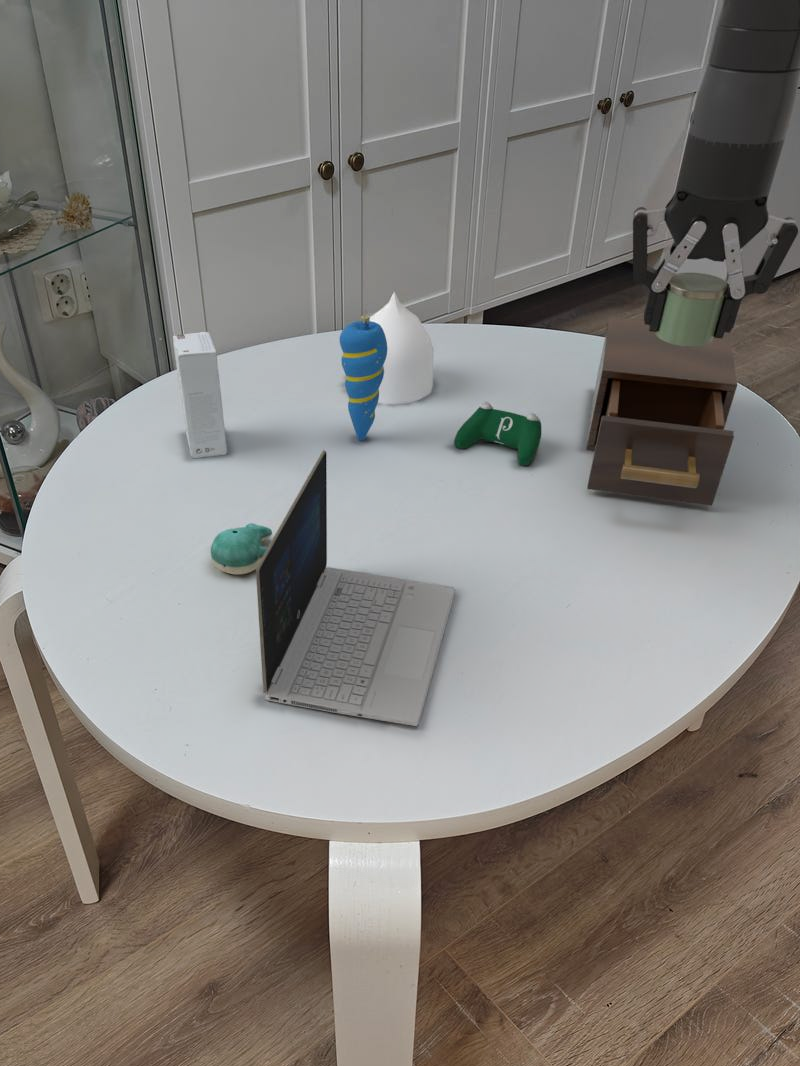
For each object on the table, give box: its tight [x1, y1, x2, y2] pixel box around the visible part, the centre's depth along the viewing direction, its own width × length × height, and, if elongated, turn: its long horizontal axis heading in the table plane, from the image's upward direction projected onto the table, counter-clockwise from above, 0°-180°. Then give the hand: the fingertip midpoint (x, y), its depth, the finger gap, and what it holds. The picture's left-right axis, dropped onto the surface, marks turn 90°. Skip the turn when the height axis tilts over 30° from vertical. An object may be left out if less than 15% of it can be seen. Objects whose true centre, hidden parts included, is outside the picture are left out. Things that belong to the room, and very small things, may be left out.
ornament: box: [339, 309, 387, 442], centre depth 100 cm, size 5×5×15 cm
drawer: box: [586, 378, 735, 507], centre depth 94 cm, size 19×12×8 cm, turn 164°
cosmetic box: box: [172, 331, 228, 459], centre depth 100 cm, size 6×4×12 cm
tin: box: [656, 272, 729, 347], centre depth 84 cm, size 5×5×5 cm
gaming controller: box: [453, 401, 542, 467], centre depth 102 cm, size 9×4×6 cm
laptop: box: [255, 449, 456, 727], centre depth 73 cm, size 18×12×13 cm
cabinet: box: [585, 317, 738, 452], centre depth 104 cm, size 16×14×10 cm
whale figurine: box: [210, 523, 273, 575], centre depth 86 cm, size 6×7×4 cm
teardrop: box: [369, 291, 435, 405], centre depth 112 cm, size 11×11×12 cm
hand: (685, 331), depth 85 cm, fingers closed on tin, 5 cm apart
